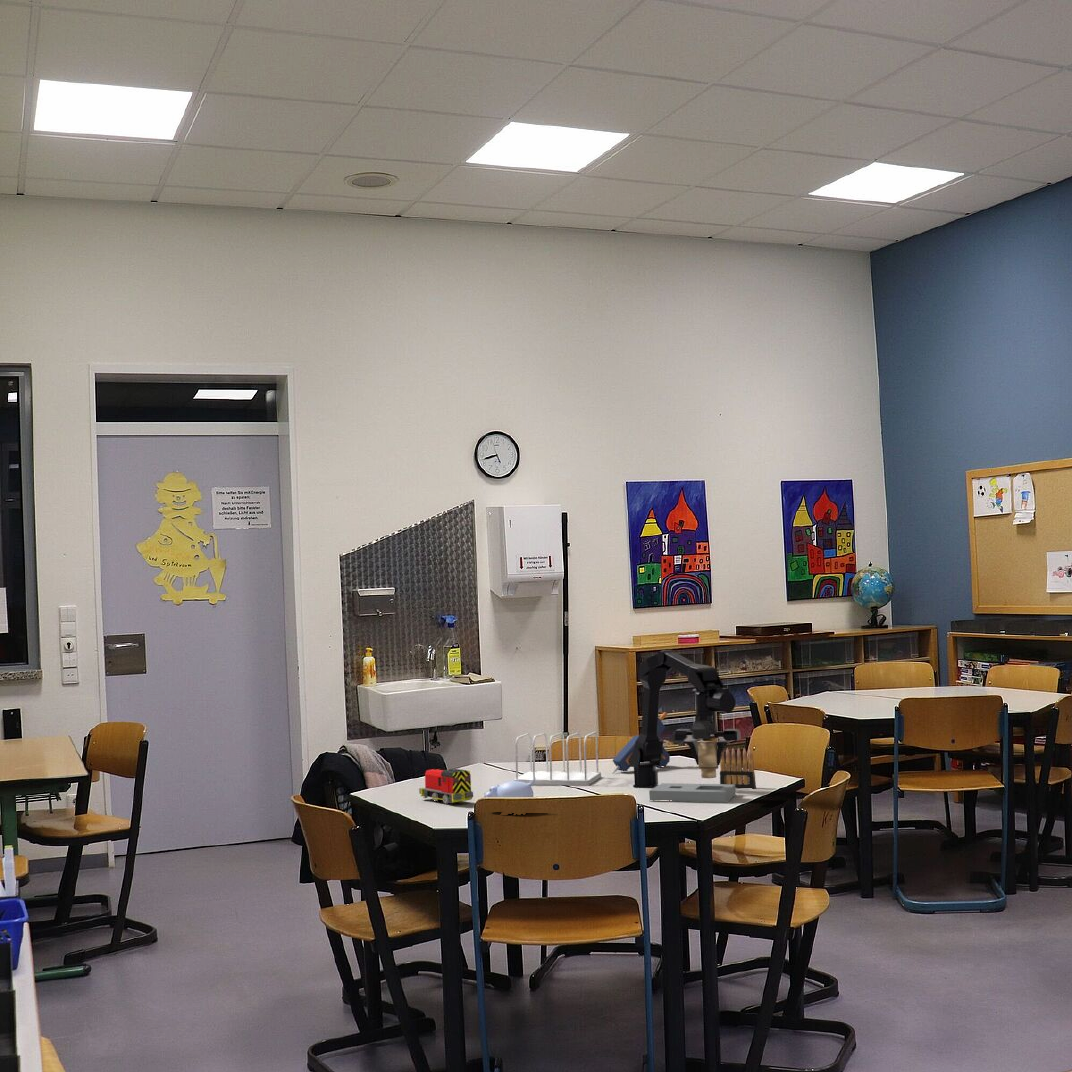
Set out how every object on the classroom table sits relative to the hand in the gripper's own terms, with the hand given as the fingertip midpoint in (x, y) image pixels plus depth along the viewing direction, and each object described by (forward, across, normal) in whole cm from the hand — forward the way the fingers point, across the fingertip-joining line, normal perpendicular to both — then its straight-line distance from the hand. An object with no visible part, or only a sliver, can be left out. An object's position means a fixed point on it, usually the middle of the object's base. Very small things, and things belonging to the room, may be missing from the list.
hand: (708, 765), depth 338 cm
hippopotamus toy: (+10, -50, -30) cm, 59 cm away
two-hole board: (+10, -5, 0) cm, 11 cm away
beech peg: (+4, 0, 0) cm, 4 cm away
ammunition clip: (+10, +4, +20) cm, 23 cm away
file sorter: (+10, -57, +27) cm, 64 cm away
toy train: (+10, -76, -16) cm, 79 cm away
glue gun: (+10, -36, +54) cm, 66 cm away
